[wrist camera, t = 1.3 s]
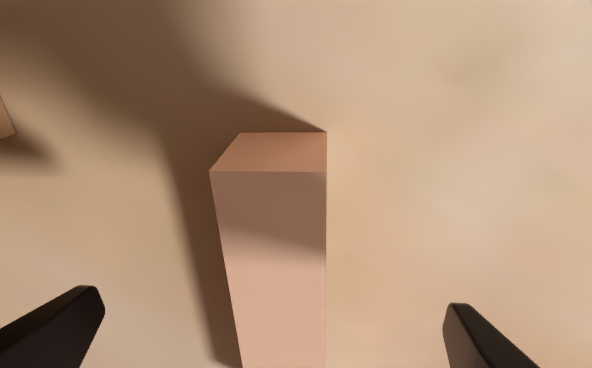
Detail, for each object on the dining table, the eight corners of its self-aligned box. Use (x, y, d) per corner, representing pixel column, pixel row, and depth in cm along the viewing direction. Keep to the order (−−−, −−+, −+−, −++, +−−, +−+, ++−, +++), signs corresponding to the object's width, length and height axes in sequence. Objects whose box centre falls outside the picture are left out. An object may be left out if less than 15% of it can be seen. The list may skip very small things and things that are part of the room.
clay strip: (325, 380, 17) (324, 459, 14) (270, 376, 17) (257, 453, 14) (327, 129, 11) (326, 171, 8) (241, 130, 11) (208, 171, 8)
